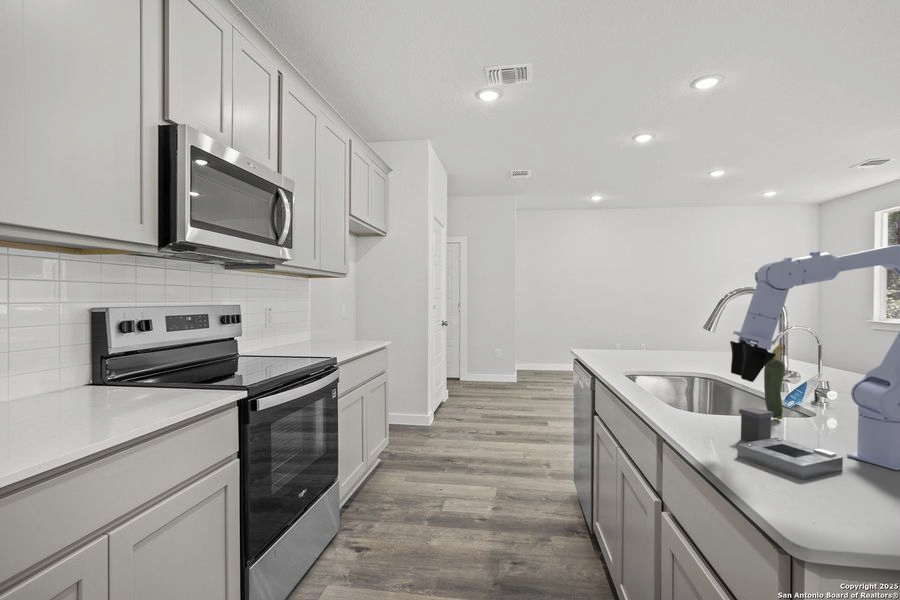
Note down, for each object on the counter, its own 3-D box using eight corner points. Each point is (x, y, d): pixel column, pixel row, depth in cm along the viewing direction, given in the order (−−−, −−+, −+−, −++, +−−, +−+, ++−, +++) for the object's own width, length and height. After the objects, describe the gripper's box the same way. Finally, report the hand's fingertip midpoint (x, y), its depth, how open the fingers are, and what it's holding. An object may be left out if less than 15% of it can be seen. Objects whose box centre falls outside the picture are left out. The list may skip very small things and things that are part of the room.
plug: (752, 436, 103) (752, 407, 103) (772, 443, 98) (773, 412, 98) (738, 439, 101) (739, 408, 101) (759, 445, 97) (759, 414, 97)
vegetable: (764, 420, 116) (766, 344, 116) (762, 416, 120) (763, 343, 120) (785, 422, 114) (787, 345, 114) (782, 418, 118) (783, 344, 118)
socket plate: (775, 449, 95) (776, 435, 95) (842, 470, 84) (842, 454, 83) (737, 456, 90) (737, 441, 90) (802, 479, 79) (802, 463, 79)
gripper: (731, 310, 102) (713, 366, 103) (752, 312, 88) (730, 376, 89) (766, 319, 99) (746, 376, 101) (792, 322, 86) (769, 388, 87)
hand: (741, 377), depth 95 cm, fingers open, 7 cm apart
